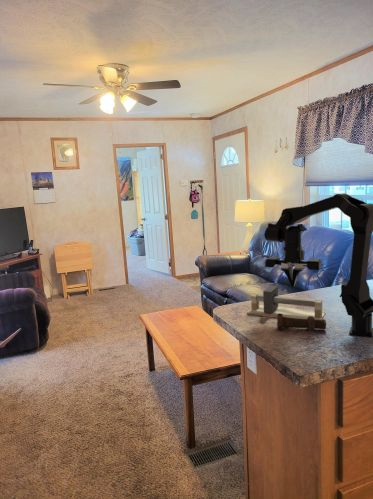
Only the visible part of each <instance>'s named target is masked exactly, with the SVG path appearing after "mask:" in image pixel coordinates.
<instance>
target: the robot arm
mask: <svg viewBox="0 0 373 499" xmlns="http://www.w3.org/2000/svg"><path fill="white" fill-rule="evenodd" d="M334 209H338V210H339V211H340V212H342V213H343V214H344V215H345V216H347V217H349V220H350V227H351V229H352V231H353V240H352V241H353V242H352V250H351V260H350V269H349V272H350V273H349V279H348V281H347V282H345V283H342V284H341V286H340V288H341V290H340V295H339V298H341V303H342V304H343V305H344V308H345V311H346V313H347V316H350V317H351V327H350V329H349V330H348V334H349V335H353V336H360V337H368V338H373V298H372V297H371V294H370V287H369V284H368V282H367V276H368V267H369V258H370V249H371V239H372V234H373V203H367V202H366V201H364V200H361V199H358V198H356V197H353V196H352V195H349V194H347V193H345V192H344V193H343V192H342V193H336V194H334V195H333V196H330V197H326V198H324V199H321V200H318V201H316V202H312V203H309V204H307V205H303V206H301V205H300V206H296V207H295V206H294V207H286V208H284V209H282V211H281V214H280V216H279V219H278V220H277V221H276V223H275V222H270V223H267V227H266V228H265V231H264V236H263V237H264V239H265V240H266V241H267V242H275V243H284V244H283V245H284V247H283V251H284V252H283V256H284V259H281V258H280V257H279V256H269V257H267V258H266V259H265V261H264V267H266V268H274V267H275V266H276V265H278V266H281V268H280V271H283V272H284V274H285V275H286V278H287V280H288V281H289V285H290V286H291V288H294V287H295V285H296V283H297V279H298V276H299V275H300V273H301V272H302V271H303V270H304V269H305V268H307V269H308V270H312V271H319V270H320V269H321V268H322V266H323V264H322V263H323V262H322V260H321V258H308V259H307V260H305V253H306V252H305V251H304V250H303V249H302V248H303V247H302V232H306V231H308V229H307V228H306V227H305V226H304V225H303V222H304V221H306V220H308V219H309V218H311V217H312V216H316V215H318V214H321V213H325V212H327V211H331V210H334ZM296 224H297V225H296Z"/></svg>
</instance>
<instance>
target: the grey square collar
mask: <svg viewBox="0 0 373 499" xmlns="http://www.w3.org/2000/svg"><path fill="white" fill-rule="evenodd" d="M262 295H263V301H264V302H263V305H264V312H265V313H273V312H274V311H275V310H276V309H277V307H279V303H273V296H279V286H277V285H269V286H267V288H264V290H263V292H262Z"/></svg>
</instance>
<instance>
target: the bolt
mask: <svg viewBox="0 0 373 499" xmlns="http://www.w3.org/2000/svg"><path fill="white" fill-rule="evenodd" d="M276 323H277V324H276V328H277V330H276V331H280V332H283V329H288V328H289V329H294V328H295V329H303V330H304V329H307V331H308V332H315V330H326V329H327V321H326V319H318V320H315V319H314V317H313V316H309V317H308V319H300V318H287V317H283V316H282V314H280V313H279V314H278V315H277V319H276Z"/></svg>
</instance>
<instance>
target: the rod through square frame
mask: <svg viewBox="0 0 373 499" xmlns="http://www.w3.org/2000/svg"><path fill="white" fill-rule="evenodd" d="M250 301H251V302H250V304H251V308H250V309H249V310H248V311H246V315H252V316H254V315H255V316H259V317H260V316H263V317H269V318H277V315H278V314H279V313H280V314H282V316H283V317H287V318H300V319H308V317H309V316H313V317H314V319H315V320H318V319H322V320H324V318H325V315H326V313H327V312H326V311H323V300H322V299H310V298H302V297H301V298H299V297H289V296H279V295H278V296H273V303H278V304H280V305H281V304H282V305H291V306H298V307H299V306H301V307H311V308H314V310H311V309H300V308H293V307H283V306H278V307H277V309H276V310H275V311H274V312H273V313H265V312H264V304H260V302H261V303H262V302H263V303H264V301H263V294H259V293H253V294H252V295H250Z"/></svg>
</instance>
